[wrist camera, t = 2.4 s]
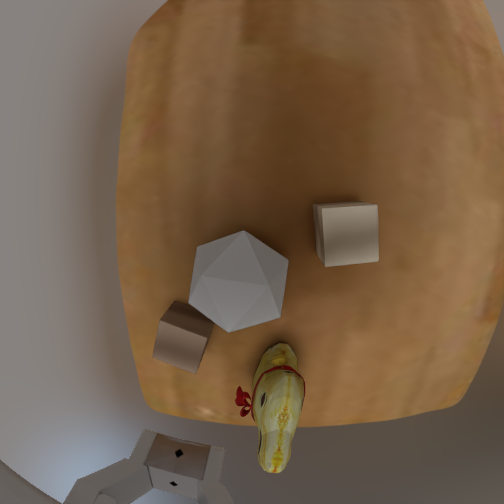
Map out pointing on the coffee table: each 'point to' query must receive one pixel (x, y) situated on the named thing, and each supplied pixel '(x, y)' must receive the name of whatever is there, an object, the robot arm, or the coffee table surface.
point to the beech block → (346, 233)
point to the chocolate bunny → (275, 405)
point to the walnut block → (182, 337)
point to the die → (238, 281)
